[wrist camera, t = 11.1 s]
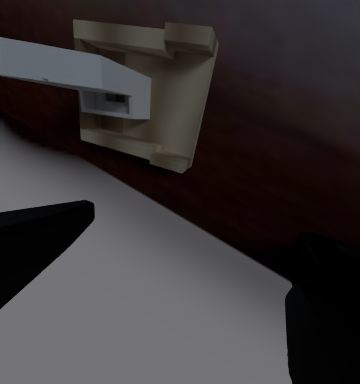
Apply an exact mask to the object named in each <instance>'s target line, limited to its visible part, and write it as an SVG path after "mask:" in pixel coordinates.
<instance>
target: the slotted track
mask: <svg viewBox="0 0 360 384" xmlns="http://www.w3.org/2000/svg"><path fill="white" fill-rule="evenodd" d="M73 27H74V42H75V51H79V52H85V53H90V54H96V55H101V56H103V57H105V58H107V59H110V60H112V61H114V62H116V63H118V64H121V65H123V66H125V67H127V68H129V69H132V70H134V71H136V72H138V73H140V74H143V75H145V76H147V77H149V78H151V96H150V119H129V118H122V117H115V116H108V115H101V114H94V113H87V112H82V111H81V103H80V94H79V90H78V102H79V117H80V132H81V140H84V141H87V142H91V143H94V144H97V145H101V146H104V147H108V148H111V149H114V150H118V151H121V152H125V153H128V154H131V155H135V156H138V157H142V158H145V159H149V160H150V164H152V165H155V166H159V167H162V168H165V169H169V170H172V171H175V172H179V173H183V172H184V171H185V170H187V169H188V168H190V167H191V166H192V161H193V157H194V152H195V148H196V143H197V139H198V135H199V130H200V126H201V121H202V117H203V112H204V108H205V104H206V99H207V95H208V90H209V86H210V82H211V77H212V73H213V68H214V64H215V59H216V55H217V51H218V46H219V44H218V41H217V40H216V37H215V34H214V31H213V28H212V27H208V26H198V25H188V24H178V23H167V22H165V29H156V28H147V27H138V26H128V25H119V24H110V23H101V22H91V21H82V20H73ZM116 102H123V103H125V95H120V94H116Z"/></svg>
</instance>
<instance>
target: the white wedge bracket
mask: <svg viewBox="0 0 360 384" xmlns="http://www.w3.org/2000/svg"><path fill="white" fill-rule="evenodd" d="M0 76H4V77H9V78H15V79H20V80H26V81H31V82H37V83H42V84H48V85H53V86H59V87H64V88H70V89H75V90H79V94H80V103H81V111H82V112H87V113H94V114H101V115H108V116H115V117H122V118H129V119H150V96H151V78H149V77H147V76H145V75H143V74H140V73H138V72H136V71H134V70H132V69H129V68H127V67H125V66H123V65H121V64H118V63H116V62H114V61H112V60H110V59H107V58H105V57H103V56H101V55H96V54H90V53H85V52H79V51H74V50H68V49H63V48H57V47H51V46H46V45H40V44H35V43H29V42H24V41H18V40H12V39H7V38H1V37H0ZM116 94H120V95H125V103H123V102H116Z"/></svg>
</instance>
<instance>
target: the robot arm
mask: <svg viewBox="0 0 360 384" xmlns="http://www.w3.org/2000/svg"><path fill="white" fill-rule="evenodd" d="M94 218H95V213H94V204H93V203H92V202H90V201H87V200H81V201H74V202H68V203H61V204H54V205H47V206H41V207H34V208H27V209H20V210H14V211H7V212H0V309H1V308H2V307H3V306H4V305H5V304H7V303H8V302H9V301H10V300H11V299H12V298H13V297H14V296H15V295H16V294H18V293H19V292H20V291H21V290H22V289H23V288H24V287H25V286H27V284H28V283H30V282H31V281H32V280H33V279H34V278H35V277H36V276H38V275H39V274H40V273H41V272H42V271H43V270H44V269H45V268H46V267H48V266H49V265H50V264H51V263H52V262H53V261H54V260H55V259H56V258H58V257H59V256H60V255H61V254H62V253H63V252H64V251H65V250H66V249H67V248H68V247H70V245H71V244H72V243H73V242H74V241H75V240H76V239H77V238H78V237H79V236H80V235H81V234H82V233H83V232H84V231H85V229H86V228H87V227H88V226H89V225H90V224H91V223H92V222H93V220H94ZM311 237H314V238H313V239H310V238H311ZM287 273H289V274H287ZM283 275H284V277H286V278H288V279H291V283H292V286H293V287H292V288H291V290H290V291H289V292H288V293H287V295H286V298H285V312H286V332H287V333H286V334H287V349H288V354H287V356H288V368H289V375H290V377H291V380H292V384H360V248H359V247H356V246H352V245H349V244H346V243H343V242H340V241H337V240H334V239H331V238H328V237H324V236H321V235H318V234H315V233H308V234H307V235H306V236H305V238H304V239H303V241H302V242H301V244H300V245H299V247H298V248H296V249H295V250H294V252H293V253H292V255H291V256H290V258H289V260H288V261H287V263H286V267H285V268H284V270H283Z"/></svg>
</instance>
